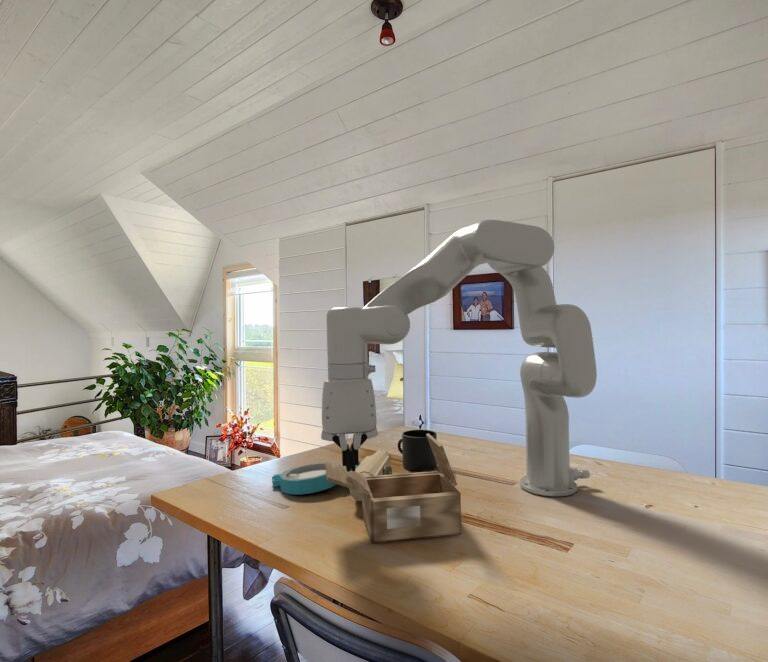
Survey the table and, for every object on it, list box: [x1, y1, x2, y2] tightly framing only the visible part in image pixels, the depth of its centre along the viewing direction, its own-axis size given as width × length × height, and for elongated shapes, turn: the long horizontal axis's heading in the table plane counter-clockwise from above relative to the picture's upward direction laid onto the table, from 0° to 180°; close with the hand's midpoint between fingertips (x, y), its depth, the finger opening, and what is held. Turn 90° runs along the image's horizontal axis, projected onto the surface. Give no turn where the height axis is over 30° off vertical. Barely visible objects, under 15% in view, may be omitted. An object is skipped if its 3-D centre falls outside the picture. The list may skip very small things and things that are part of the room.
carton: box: [361, 470, 462, 544], centre depth 89 cm, size 17×14×8 cm
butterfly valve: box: [271, 449, 393, 502], centre depth 111 cm, size 27×7×30 cm
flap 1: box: [325, 461, 370, 495], centre depth 87 cm, size 1×10×8 cm
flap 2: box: [426, 433, 458, 487], centre depth 90 cm, size 1×10×8 cm, turn 10°
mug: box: [397, 429, 438, 472], centre depth 127 cm, size 9×12×9 cm
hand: (350, 469), depth 87 cm, fingers closed
